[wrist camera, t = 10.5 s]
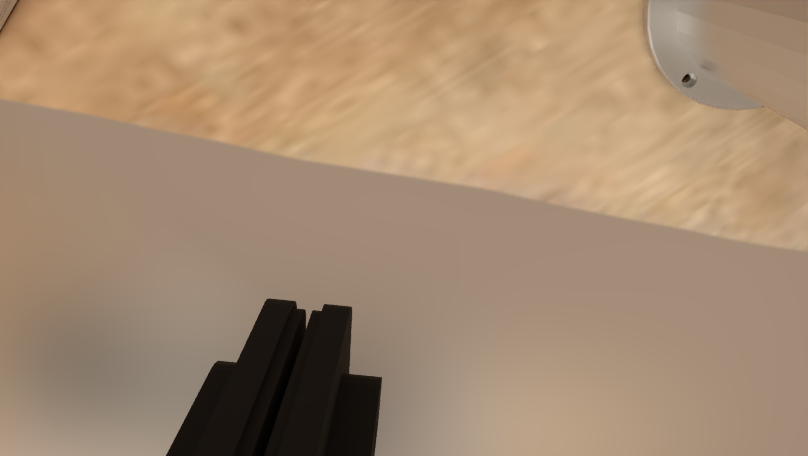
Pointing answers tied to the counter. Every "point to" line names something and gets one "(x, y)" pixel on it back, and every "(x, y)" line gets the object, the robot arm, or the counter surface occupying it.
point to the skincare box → (5, 10)
